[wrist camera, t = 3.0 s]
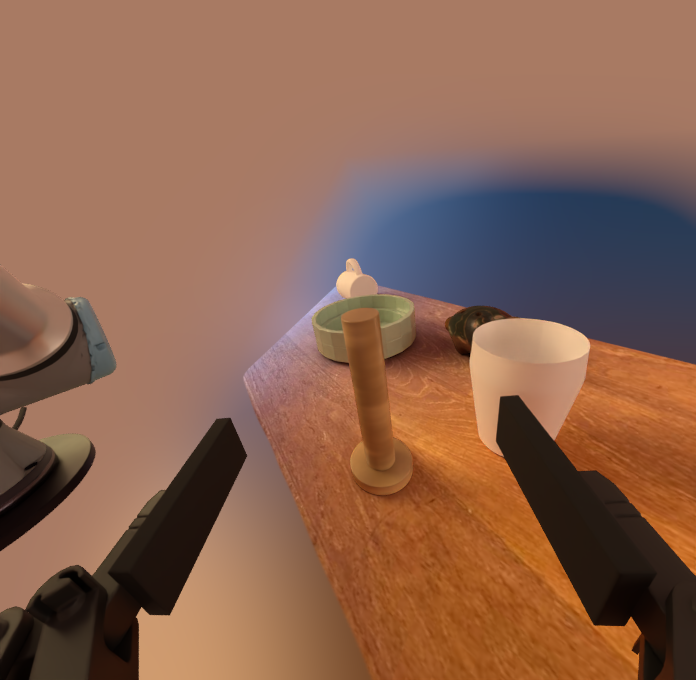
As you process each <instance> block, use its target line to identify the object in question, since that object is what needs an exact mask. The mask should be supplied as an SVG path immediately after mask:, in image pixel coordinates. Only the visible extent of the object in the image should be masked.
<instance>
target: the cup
mask: <svg viewBox="0 0 696 680" xmlns="http://www.w3.org/2000/svg"><path fill="white" fill-rule="evenodd" d="M589 350H590V343H589V340H588V339H587V338H586V337H585V336H584V335H583V334H581V333H580V332H578V331H576V330H574V329H572V328H570V327H567V326H565V325H561V324H558V323H554V322H550V321H544V320H536V319H523V318H515V319H502V320H496V321H492V322H488V323H486V324H483V325H481V326H480V327H478V328H477V329H476V330H475V331H474V333H473V339H472V349H471V355H470V373H471V381H472V389H473V396H474V404H475V412H476V419H477V427H478V434H479V437H480V439H481V440H482V442H483V443H484V444H485V445H486V446H487V447H488V448H489V449H490V450H491V451H493V452H494V453H496V454H498V455H500V456H502V457H504V456H503V454H502V452H501V450H500V448H499V446H498V444H497V443H496V433H497V423H498V413H499V403H500V396H512V395H519V397H520V398H521V399H522V400H523V402H524V403H525V404H526V406H527V407H528V408H529V409H530V411H531V412H532V413H533V415H534V416H535V417H536V418H537V420H538V421H539V422H540V423H541V425H542V426H543V427H544V429H545V430H546V431H547V432H548V434H549V435H550V436H551V438H552V439H553V440H555V438H556V436H557V434H558V432H559V430H560V428H561V426H562V424H563V423H564V421H565V419H566V417H567V415H568V413H569V411H570V409H571V407H572V405H573V403H574V401H575V399H576V397H577V395H578V393H579V391H580V389H581V387H582V385H583V383H584V380H585V376H586V368H587V362H588V356H589Z"/></svg>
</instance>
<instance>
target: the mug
mask: <svg viewBox="0 0 696 680" xmlns="http://www.w3.org/2000/svg"><path fill="white" fill-rule="evenodd" d="M352 268H353V269H354V271H353V270H352ZM346 269H347V271H345V272H343V273H342V274H341V275H340V276H339V278H338V280H337V290H338V292H339V294H340V295H341V296H342V297H344V298H346V299H347V298H352V297H357V296H364V295H373V294H377V292H378V286H377V283H376V281H375V280H374V279H373V278H372V277H371V276H368V275H365V274H362V272H361V269H360V266H359V264H358V262H357V261H356V260H355V259H348V260H347V262H346Z"/></svg>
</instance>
